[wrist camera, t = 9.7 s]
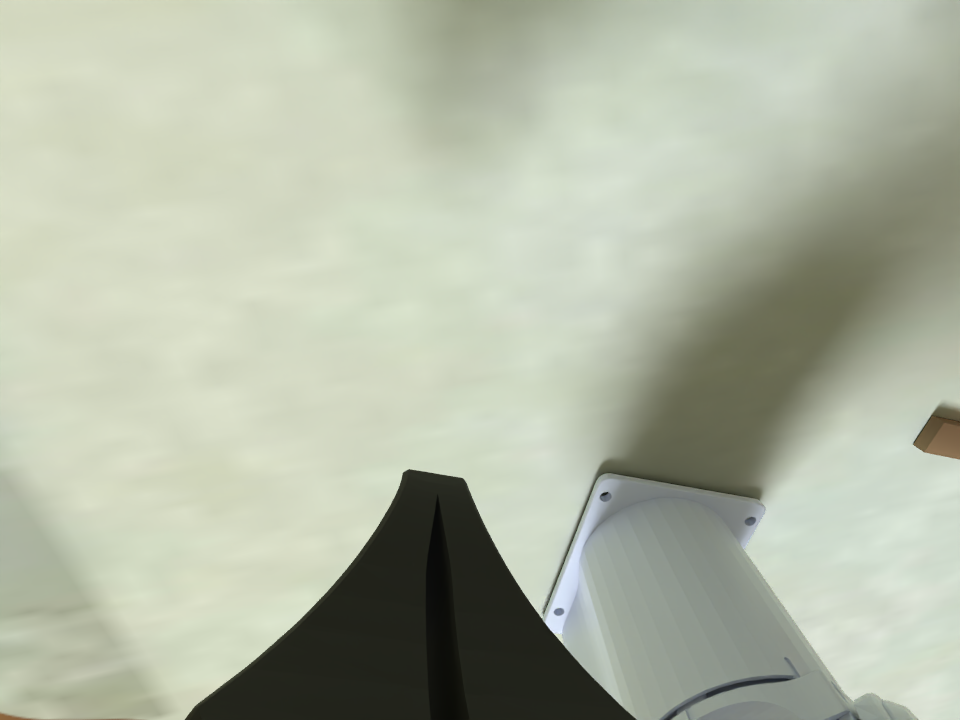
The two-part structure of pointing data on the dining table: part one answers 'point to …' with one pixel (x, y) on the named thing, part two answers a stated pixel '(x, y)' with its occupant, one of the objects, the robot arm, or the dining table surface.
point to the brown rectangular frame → (940, 438)
